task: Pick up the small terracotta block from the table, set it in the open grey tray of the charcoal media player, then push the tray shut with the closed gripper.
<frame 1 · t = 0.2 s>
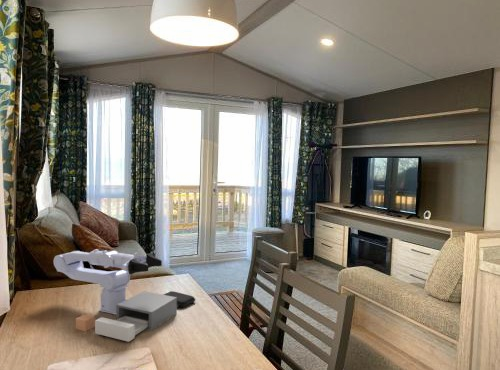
hand: (154, 265, 143), 21 cm above the table, tool horizontal, fingers open, 7 cm apart
tray: (125, 323, 134), point 3 cm above the table, slide at 8.0 cm
block: (85, 328, 137), on the table
housing: (147, 318, 146), on the table
carrying case or bag: (175, 303, 162), on the table
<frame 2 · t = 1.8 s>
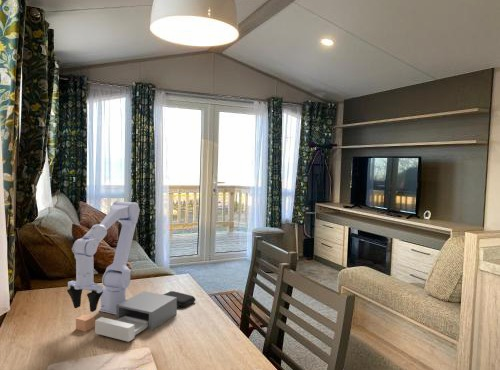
hand: (85, 309, 136), 7 cm above the table, tool pointing down, fingers open, 7 cm apart
nothing on the table moved.
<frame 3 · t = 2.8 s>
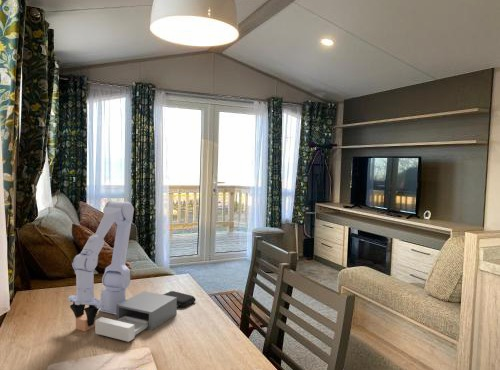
hand: (85, 323, 137), 1 cm above the table, tool pointing down, fingers closed on block, 4 cm apart
block: (85, 327, 137), on the table, touching gripper
everything else where it was.
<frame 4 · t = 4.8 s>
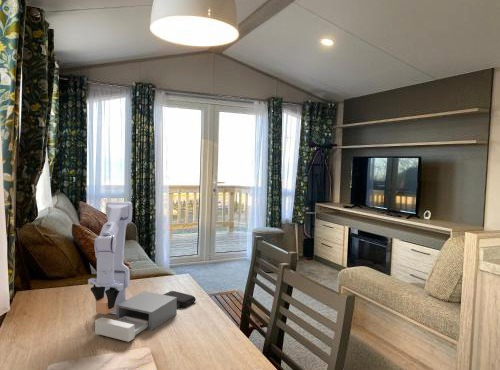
hand: (105, 306, 135), 8 cm above the table, tool pointing down, fingers closed on block, 4 cm apart
block: (105, 310, 135), point 7 cm above the table, touching gripper
everything else where it was.
when the fingers open (4 cm above the table, at t = 6.6 s): block drops 1 cm, resting on tray.
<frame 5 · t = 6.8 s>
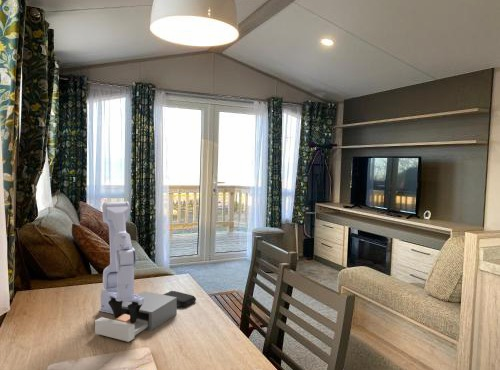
hand: (125, 320, 134), 4 cm above the table, tool pointing down, fingers open, 6 cm apart
tray: (125, 323, 134), point 3 cm above the table, slide at 8.0 cm, touching block
block: (125, 328, 134), point 1 cm above the table, touching tray
everything else where it was.
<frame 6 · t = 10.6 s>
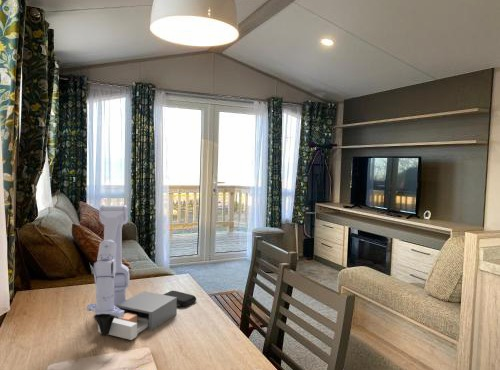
hand: (105, 334, 128), 2 cm above the table, tool pointing down, fingers closed, pressing on tray
tray: (127, 321, 135), point 3 cm above the table, slide at 6.7 cm, touching block, gripper
block: (127, 326, 135), point 1 cm above the table, touching tray
everything else where it was.
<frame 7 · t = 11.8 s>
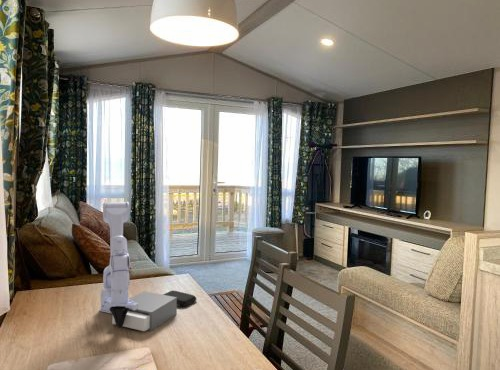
hand: (119, 325, 134), 2 cm above the table, tool pointing down, fingers closed, pressing on tray
tray: (140, 314, 142), point 3 cm above the table, slide at -0.3 cm, touching block, gripper
block: (140, 319, 142), point 1 cm above the table, touching tray
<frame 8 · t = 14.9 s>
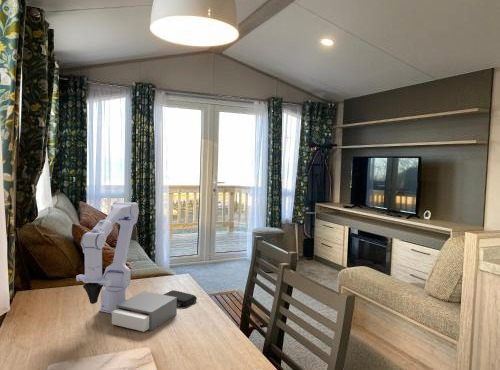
hand: (93, 302, 136), 9 cm above the table, tool pointing down, fingers closed
tray: (139, 314, 141), point 3 cm above the table, slide at 0.0 cm, touching block
at the end: tray slide at 0.0 cm; block inside the target area on the housing (3.7 cm from its centre), point 1.2 cm above the housing's base; the gripper is holding nothing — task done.
